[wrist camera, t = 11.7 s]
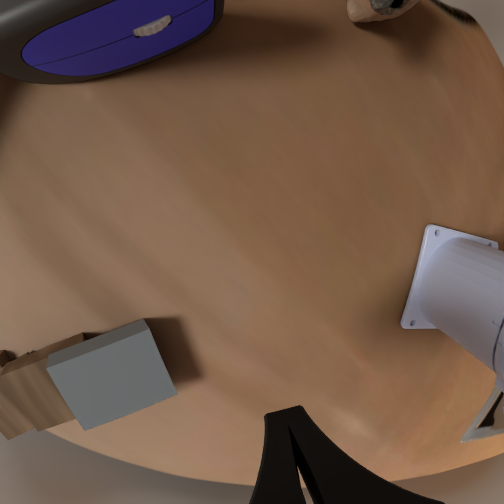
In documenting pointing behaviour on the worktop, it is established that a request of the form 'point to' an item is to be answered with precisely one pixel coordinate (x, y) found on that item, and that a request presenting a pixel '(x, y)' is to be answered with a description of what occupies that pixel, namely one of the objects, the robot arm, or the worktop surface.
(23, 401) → the domino
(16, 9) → the dark grey curved shell
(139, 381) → the slate domino
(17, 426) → the domino
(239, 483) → the worktop surface
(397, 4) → the oil lamp
